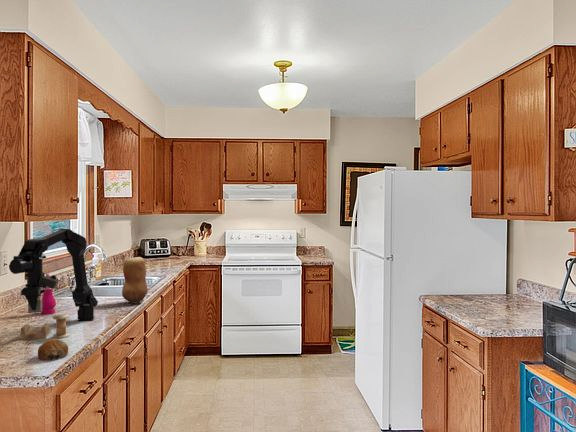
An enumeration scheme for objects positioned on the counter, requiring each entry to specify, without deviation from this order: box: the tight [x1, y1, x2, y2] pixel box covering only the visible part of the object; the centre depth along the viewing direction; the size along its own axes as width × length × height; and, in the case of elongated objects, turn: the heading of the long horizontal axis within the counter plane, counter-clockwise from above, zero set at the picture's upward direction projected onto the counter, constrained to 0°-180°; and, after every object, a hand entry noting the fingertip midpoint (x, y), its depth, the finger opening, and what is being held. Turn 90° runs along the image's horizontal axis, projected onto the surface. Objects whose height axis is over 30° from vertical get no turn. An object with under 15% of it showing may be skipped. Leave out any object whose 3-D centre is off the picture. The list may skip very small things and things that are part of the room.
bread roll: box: [37, 338, 69, 361], centre depth 181 cm, size 10×10×8 cm
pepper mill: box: [40, 272, 57, 316], centre depth 251 cm, size 7×7×20 cm
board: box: [20, 322, 52, 341], centre depth 209 cm, size 9×11×4 cm
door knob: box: [52, 313, 70, 339], centre depth 207 cm, size 6×6×8 cm
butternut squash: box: [121, 256, 149, 304], centre depth 277 cm, size 14×13×25 cm
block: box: [27, 295, 43, 314], centre depth 207 cm, size 4×4×6 cm
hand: (35, 309), depth 207 cm, fingers closed on block, 3 cm apart
